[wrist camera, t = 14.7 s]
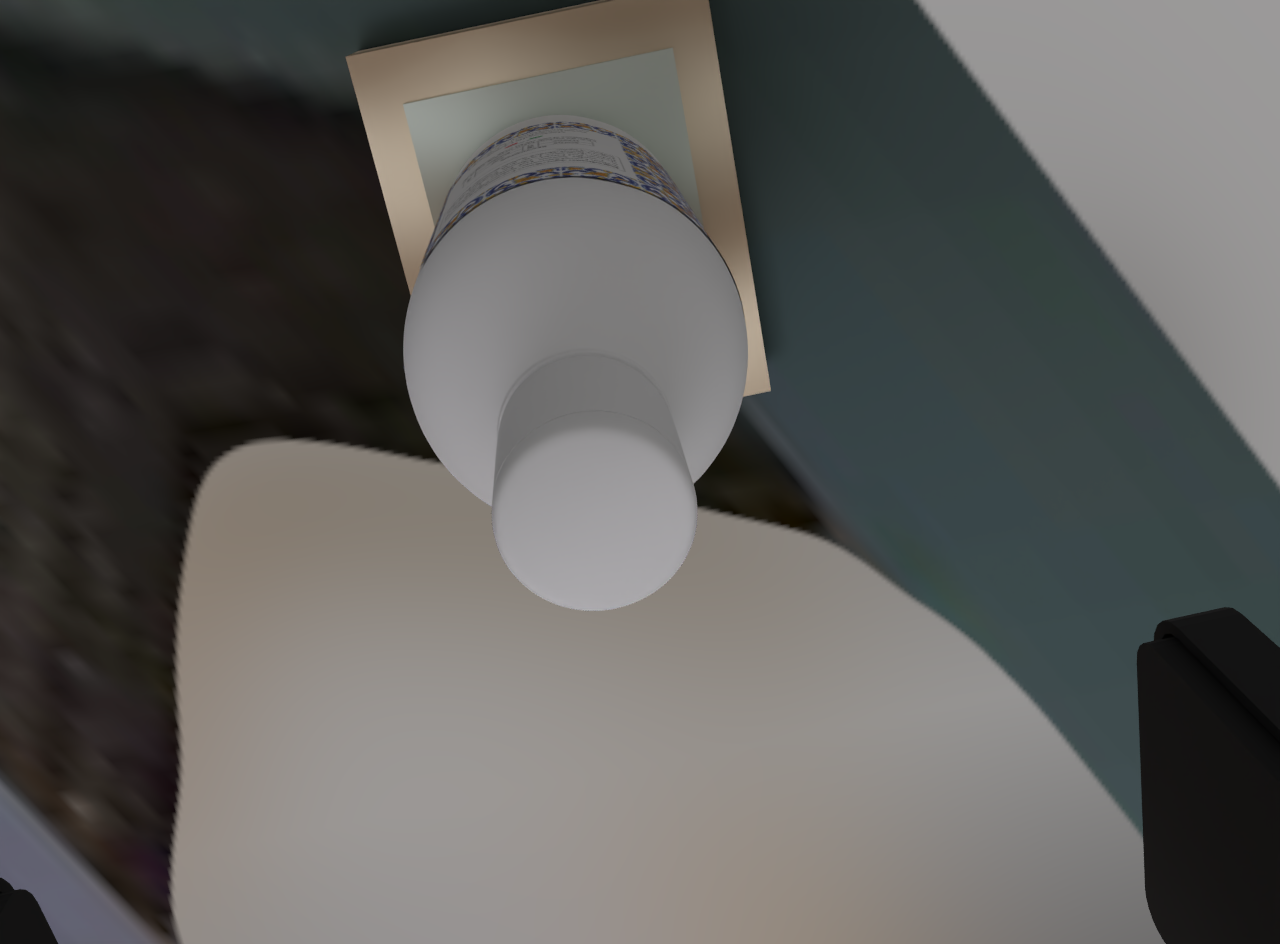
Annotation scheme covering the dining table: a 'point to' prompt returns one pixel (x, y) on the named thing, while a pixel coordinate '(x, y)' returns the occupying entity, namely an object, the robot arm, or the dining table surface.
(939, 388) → the dining table surface
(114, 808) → the dining table surface
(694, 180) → the plinth
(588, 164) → the bath foam
